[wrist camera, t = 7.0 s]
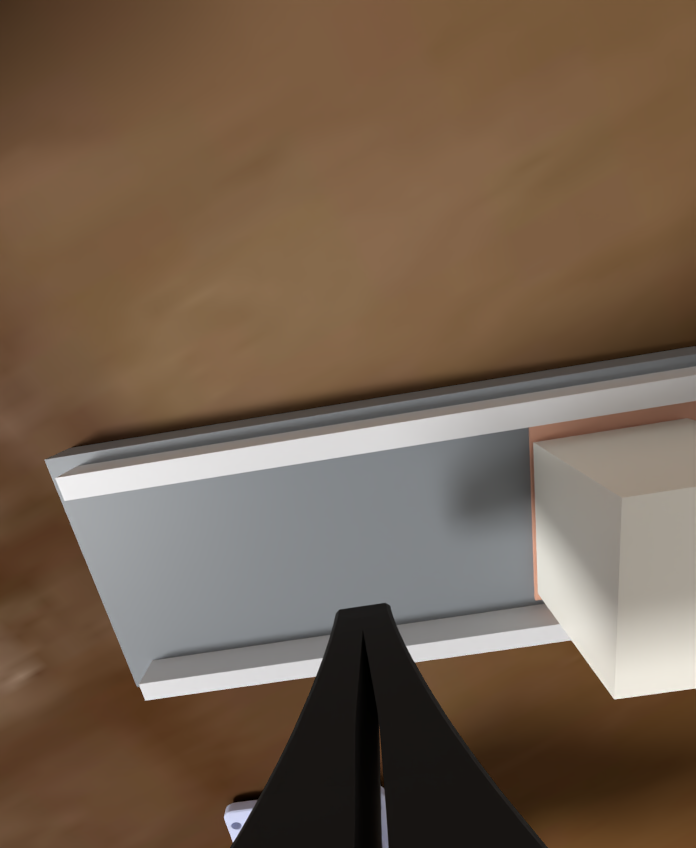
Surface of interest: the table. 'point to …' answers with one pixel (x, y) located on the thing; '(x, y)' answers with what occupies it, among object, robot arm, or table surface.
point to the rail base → (341, 521)
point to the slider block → (622, 551)
